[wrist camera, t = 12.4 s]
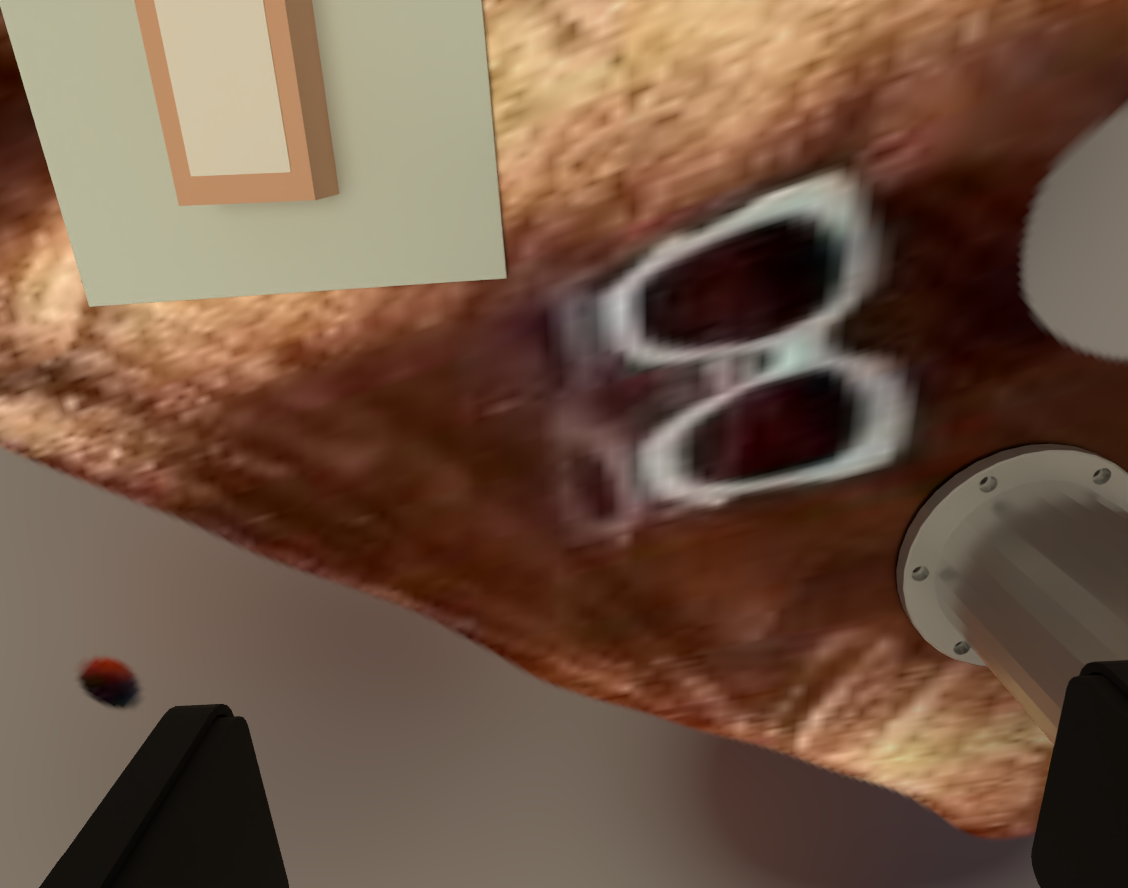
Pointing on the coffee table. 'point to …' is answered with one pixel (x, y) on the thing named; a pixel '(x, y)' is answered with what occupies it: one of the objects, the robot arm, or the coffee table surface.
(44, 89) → the play mat
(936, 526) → the robot arm
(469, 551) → the coffee table surface
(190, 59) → the block
